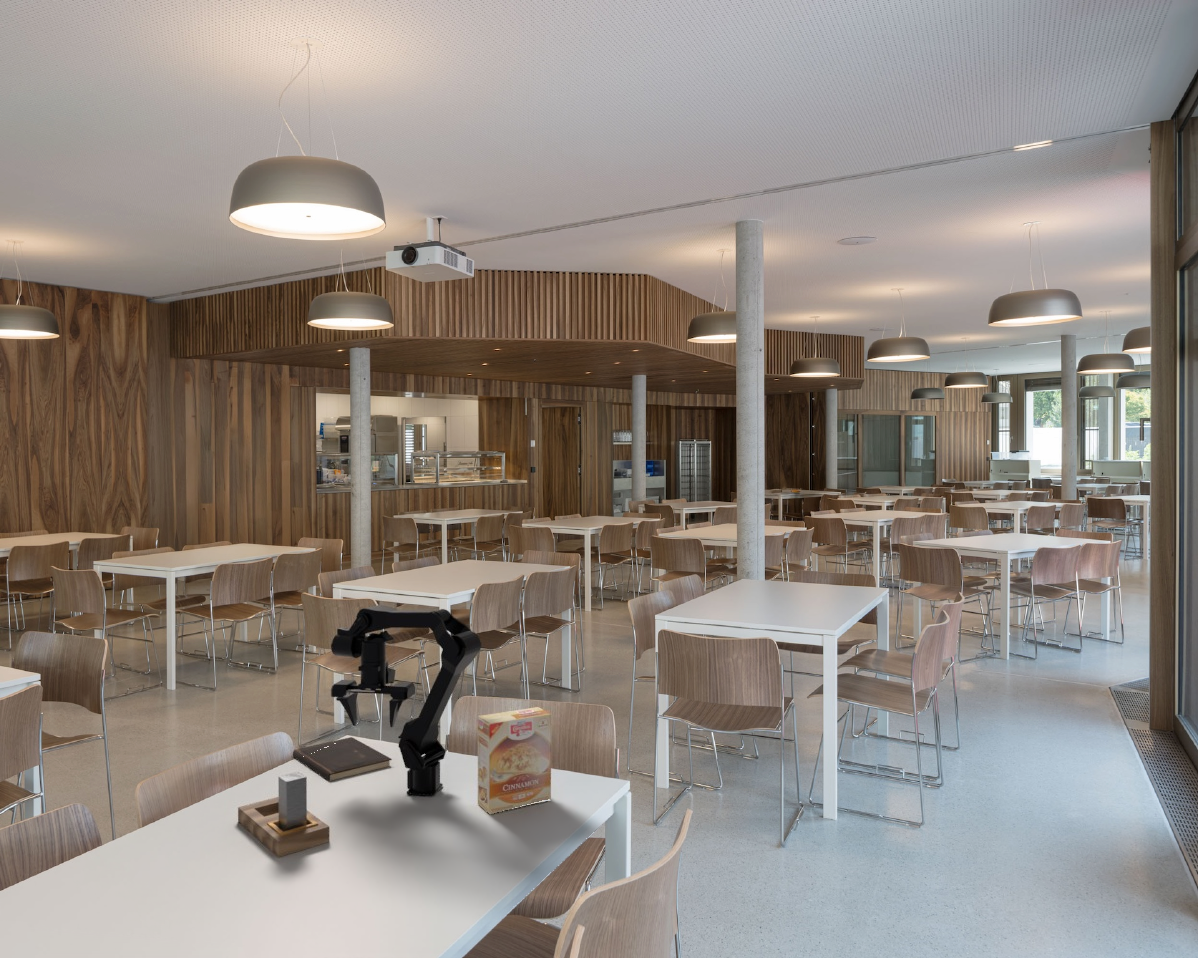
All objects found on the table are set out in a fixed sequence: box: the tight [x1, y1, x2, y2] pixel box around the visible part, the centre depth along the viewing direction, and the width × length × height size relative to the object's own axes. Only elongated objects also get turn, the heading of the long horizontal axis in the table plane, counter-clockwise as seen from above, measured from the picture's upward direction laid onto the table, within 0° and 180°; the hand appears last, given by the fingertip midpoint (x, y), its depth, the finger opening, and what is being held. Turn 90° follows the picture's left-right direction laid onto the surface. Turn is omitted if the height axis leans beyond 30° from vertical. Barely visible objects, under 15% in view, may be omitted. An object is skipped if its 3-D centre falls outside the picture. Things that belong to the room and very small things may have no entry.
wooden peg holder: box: [237, 796, 330, 858], centre depth 170 cm, size 22×10×3 cm, turn 42°
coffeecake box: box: [477, 706, 552, 815], centre depth 184 cm, size 15×7×20 cm, turn 120°
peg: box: [278, 771, 308, 832], centre depth 166 cm, size 4×4×12 cm
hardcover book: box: [292, 736, 393, 782], centre depth 211 cm, size 16×23×2 cm
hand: (373, 725), depth 197 cm, fingers open, 9 cm apart
